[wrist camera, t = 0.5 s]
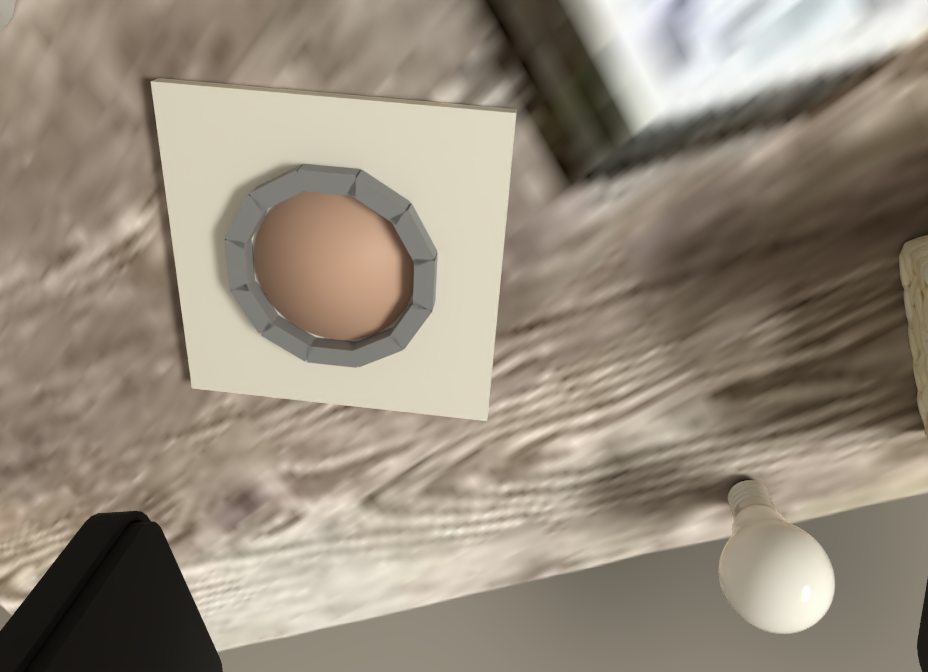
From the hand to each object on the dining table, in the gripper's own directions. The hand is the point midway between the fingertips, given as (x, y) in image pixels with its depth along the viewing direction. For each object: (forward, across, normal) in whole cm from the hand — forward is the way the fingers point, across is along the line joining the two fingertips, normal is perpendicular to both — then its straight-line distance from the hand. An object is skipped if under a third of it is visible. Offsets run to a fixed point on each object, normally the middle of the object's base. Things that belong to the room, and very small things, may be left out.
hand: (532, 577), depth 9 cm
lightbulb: (+36, -10, +29) cm, 47 cm away
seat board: (+35, +14, +9) cm, 39 cm away
